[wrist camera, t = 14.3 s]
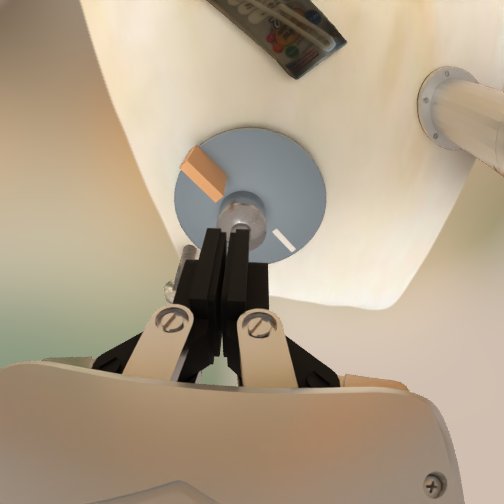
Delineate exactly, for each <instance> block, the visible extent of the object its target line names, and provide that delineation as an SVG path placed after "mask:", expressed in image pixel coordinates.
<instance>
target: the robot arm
mask: <svg viewBox="0 0 504 504" xmlns="http://www.w3.org/2000/svg"><path fill="white" fill-rule="evenodd" d="M444 72H445V74H444ZM423 99H424V100H423ZM418 115H419V119H420V123H421V125H422V127H423V130H424V131H425V133H426V134H427V136H428V137H429V138H430V139H431V140H432V141H433V142H434V143H436V144H437V145H439V146H441V147H443V148H445V149H449V150H459V149H464V150H466V151H467V152H469V153H470V154H472V155H473V156H475V157H476V158H478V159H479V160H481V161H482V162H484V163H485V164H487V165H488V166H490V167H491V168H492V169H494V170H495V171H497V172H498V173H500V174H501V175H502V176H503V177H504V92H502V91H499V90H496V89H493V88H490V87H487V86H484V85H480V84H479V83H478V82H477V80H476V79H475V78H474V77H473V76H472V75H471V74H470V73H468V72H467V71H465V70H463V69H460V68H456V67H442V68H439V69H437V70H435V71H434V72H432V73H431V74H430V75H429V76H428V77H427V78H426V80H425V81H424V83H423V85H422V87H421V90H420V92H419V97H418ZM249 237H250V229H236V233H235V232H230V238H229V245H228V252H227V234H226V232H222V231H221V228H207V230H206V234H205V238H204V241H203V245H202V249H201V253H200V257H199V260H190V259H187V260H186V261H185V263H184V267H183V270H182V273H181V276H180V280H179V283H178V286H177V290H176V293H175V297H174V300H173V303H172V304H169V305H165V306H163V307H160V308H159V309H157V310H156V311H155V312H154V314H153V315H152V316H151V318H150V320H149V322H148V324H147V326H146V328H145V330H144V331H143V332H142V333H140V334H138V335H136V336H134V337H133V338H131V339H129V340H127V341H125V342H124V343H122V344H120V345H118V346H116V347H114V348H113V349H111V350H109V351H107V352H105V353H104V354H102V355H101V356H99V357H98V358H97V359H92V357H65V358H63V357H62V358H45V359H43V360H41V361H23V362H17V363H13V364H10V365H7V366H5V367H4V368H2V369H1V370H0V504H465V503H464V496H463V490H462V484H461V478H460V472H459V467H458V462H457V458H456V454H455V450H454V447H453V443H452V440H451V437H450V434H449V431H448V428H447V426H446V423H445V421H444V418H443V416H442V415H441V413H440V411H439V410H438V408H437V407H436V406H435V405H434V404H433V403H432V402H431V401H430V400H428V399H427V398H424V397H423V396H420V395H418V394H415V393H412V392H410V391H409V390H408V388H407V387H406V386H405V385H404V384H402V383H401V382H397V381H393V380H385V379H377V378H370V377H363V376H356V375H350V374H346V375H345V377H344V376H338V375H337V374H336V373H335V372H334V371H332V370H331V369H330V368H329V367H327V366H326V365H325V364H323V363H322V362H320V361H319V360H317V359H316V358H315V357H314V356H312V355H311V354H310V353H308V352H307V351H305V350H304V349H303V348H301V347H300V346H299V345H297V344H296V343H295V342H293V341H292V340H291V339H289V338H288V337H287V336H285V334H284V329H283V325H282V322H281V320H280V318H279V317H278V316H277V315H276V314H275V313H273V312H271V311H269V289H268V263H260V262H249ZM222 337H223V354H224V357H227V361H228V367H230V368H231V369H232V370H233V371H234V372H235V373H236V374H237V380H238V387H236V386H234V387H233V386H219V385H206V384H199V382H200V379H201V376H202V370H203V369H204V368H206V367H207V366H209V365H210V364H213V362H214V356H218V357H219V355H220V347H221V338H222Z"/></svg>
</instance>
